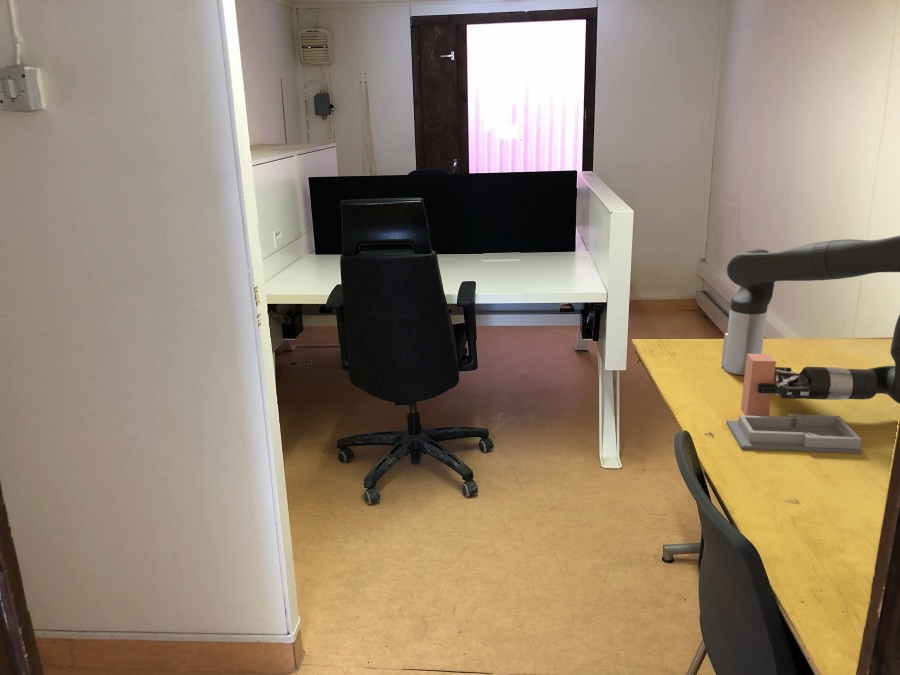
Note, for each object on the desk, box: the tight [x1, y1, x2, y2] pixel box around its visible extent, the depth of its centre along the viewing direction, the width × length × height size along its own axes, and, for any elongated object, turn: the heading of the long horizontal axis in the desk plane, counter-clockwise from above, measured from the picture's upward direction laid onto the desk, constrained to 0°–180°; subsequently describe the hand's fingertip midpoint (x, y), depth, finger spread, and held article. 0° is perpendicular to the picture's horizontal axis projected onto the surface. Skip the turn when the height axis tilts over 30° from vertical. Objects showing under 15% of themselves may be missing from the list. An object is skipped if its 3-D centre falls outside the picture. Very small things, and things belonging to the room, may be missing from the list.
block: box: [740, 353, 777, 416], centre depth 170 cm, size 5×5×14 cm
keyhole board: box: [726, 413, 862, 454], centre depth 159 cm, size 24×13×3 cm, turn 83°
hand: (752, 381), depth 170 cm, fingers open, 8 cm apart
